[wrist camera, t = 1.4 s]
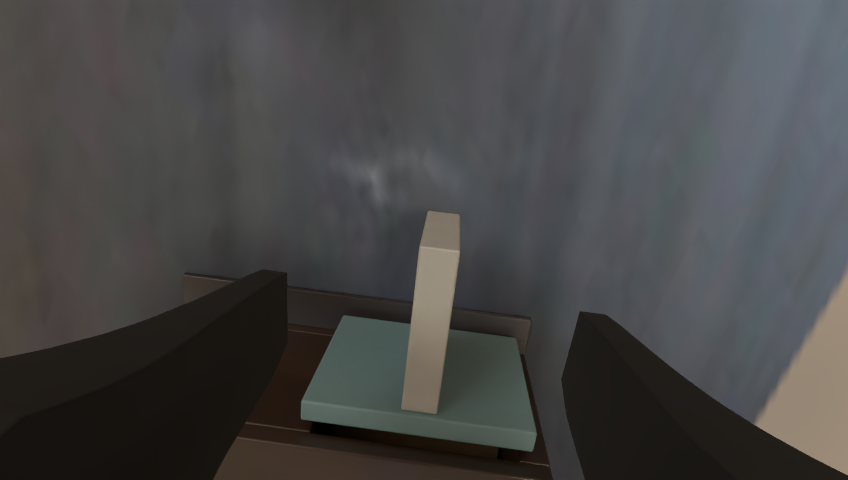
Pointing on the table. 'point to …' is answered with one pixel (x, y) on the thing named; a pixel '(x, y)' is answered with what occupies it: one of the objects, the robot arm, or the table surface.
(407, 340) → the teal stand
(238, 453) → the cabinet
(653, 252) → the table surface
